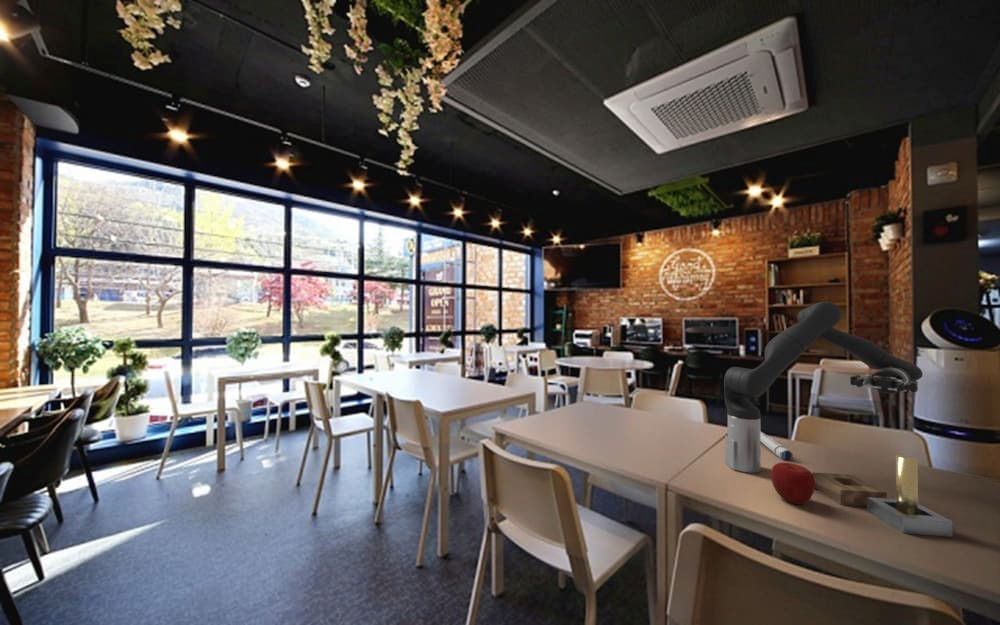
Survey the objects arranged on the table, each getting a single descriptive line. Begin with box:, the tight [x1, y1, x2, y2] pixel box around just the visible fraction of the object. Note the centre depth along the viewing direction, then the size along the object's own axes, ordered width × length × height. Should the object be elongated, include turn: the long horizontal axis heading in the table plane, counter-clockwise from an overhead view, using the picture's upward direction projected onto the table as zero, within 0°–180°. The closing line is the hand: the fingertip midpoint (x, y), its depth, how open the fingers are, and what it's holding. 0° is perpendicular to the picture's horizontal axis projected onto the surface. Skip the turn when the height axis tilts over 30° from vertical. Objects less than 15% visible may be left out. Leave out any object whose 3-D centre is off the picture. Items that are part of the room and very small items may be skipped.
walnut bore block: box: [811, 471, 888, 507], centre depth 105 cm, size 11×11×4 cm
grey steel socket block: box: [866, 497, 954, 538], centre depth 91 cm, size 10×10×4 cm
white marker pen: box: [760, 430, 794, 461], centre depth 143 cm, size 5×7×25 cm
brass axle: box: [895, 454, 919, 515], centre depth 91 cm, size 4×4×16 cm
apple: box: [770, 462, 816, 505], centre depth 102 cm, size 10×10×10 cm
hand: (877, 385), depth 110 cm, fingers open, 8 cm apart
